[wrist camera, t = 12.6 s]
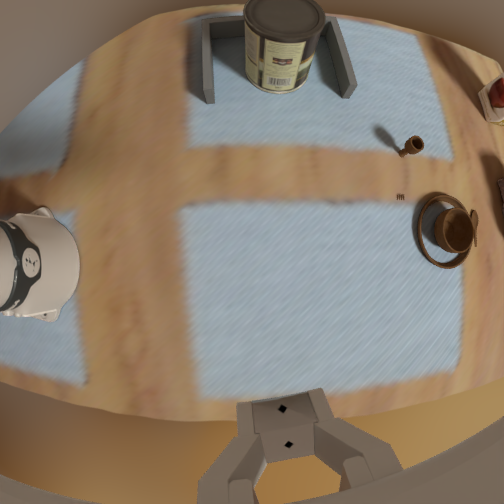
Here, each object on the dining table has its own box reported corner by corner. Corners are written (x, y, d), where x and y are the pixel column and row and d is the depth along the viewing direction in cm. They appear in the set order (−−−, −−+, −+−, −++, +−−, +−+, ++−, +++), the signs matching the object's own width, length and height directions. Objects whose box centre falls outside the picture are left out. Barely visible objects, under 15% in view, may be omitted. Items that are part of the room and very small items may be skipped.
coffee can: (289, 40, 43) (300, -16, 29) (319, 84, 43) (341, 30, 29) (234, 57, 43) (230, -1, 29) (261, 102, 42) (265, 47, 28)
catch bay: (207, 104, 42) (203, 89, 38) (204, 35, 43) (201, 19, 38) (349, 98, 43) (357, 85, 38) (330, 32, 43) (335, 16, 38)
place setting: (399, 271, 43) (419, 273, 37) (388, 145, 43) (404, 132, 37) (477, 265, 43) (498, 265, 37) (466, 155, 43) (485, 146, 37)
